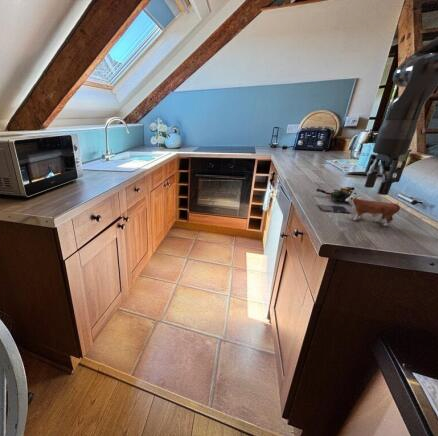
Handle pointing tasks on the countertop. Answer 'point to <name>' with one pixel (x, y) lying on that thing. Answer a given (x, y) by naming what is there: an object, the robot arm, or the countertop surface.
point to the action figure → (339, 193)
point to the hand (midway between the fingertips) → (375, 190)
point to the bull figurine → (372, 208)
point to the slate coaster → (333, 208)
